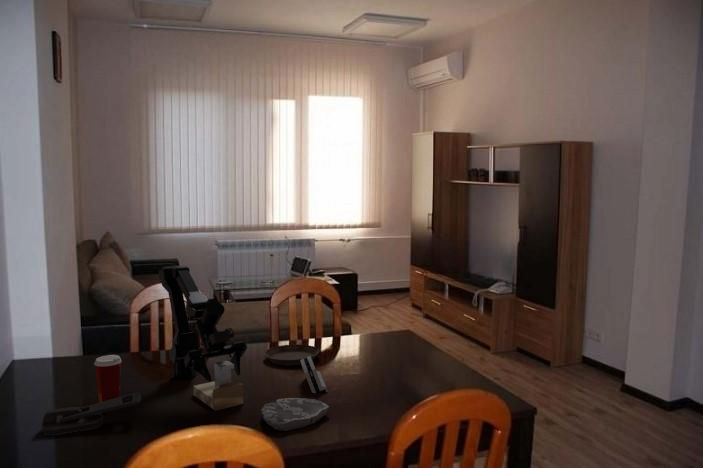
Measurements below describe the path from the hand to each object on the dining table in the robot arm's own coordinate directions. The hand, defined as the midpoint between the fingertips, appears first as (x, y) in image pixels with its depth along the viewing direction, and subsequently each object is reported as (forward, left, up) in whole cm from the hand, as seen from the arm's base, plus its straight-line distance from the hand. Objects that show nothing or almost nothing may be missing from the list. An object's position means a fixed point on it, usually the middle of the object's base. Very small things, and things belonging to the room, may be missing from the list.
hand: (225, 378), depth 173 cm
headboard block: (-4, +3, -8) cm, 10 cm away
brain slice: (+23, -4, -9) cm, 25 cm away
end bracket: (-1, +1, -8) cm, 8 cm away
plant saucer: (+2, +48, -9) cm, 49 cm away
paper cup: (-34, -9, -8) cm, 36 cm away
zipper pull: (-28, -23, -8) cm, 37 cm away
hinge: (+19, +24, -8) cm, 32 cm away
